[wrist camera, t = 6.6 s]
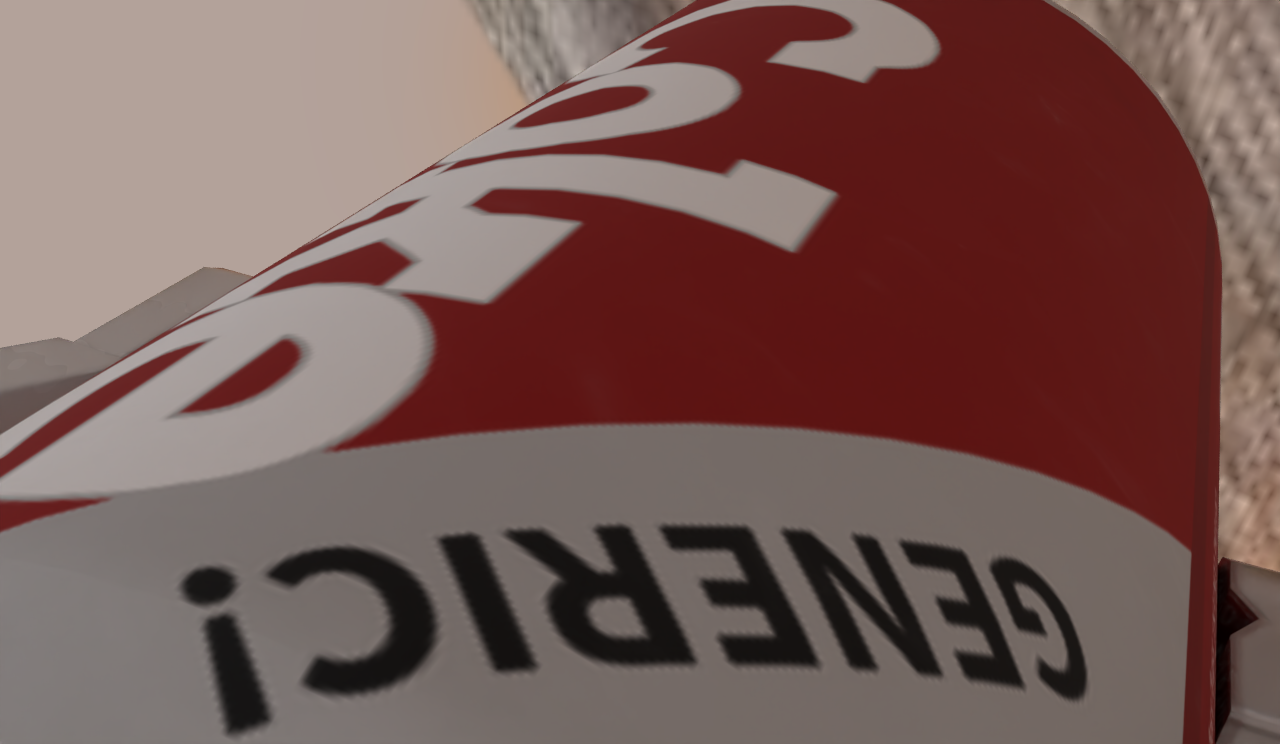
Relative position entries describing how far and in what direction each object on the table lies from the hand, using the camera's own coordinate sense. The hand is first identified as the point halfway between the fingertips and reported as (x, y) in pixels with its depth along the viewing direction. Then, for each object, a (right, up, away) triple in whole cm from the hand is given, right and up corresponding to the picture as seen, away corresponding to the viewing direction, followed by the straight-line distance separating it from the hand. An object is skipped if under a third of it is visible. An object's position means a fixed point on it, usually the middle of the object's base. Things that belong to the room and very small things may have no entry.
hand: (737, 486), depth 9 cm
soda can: (+2, +2, +4) cm, 5 cm away
